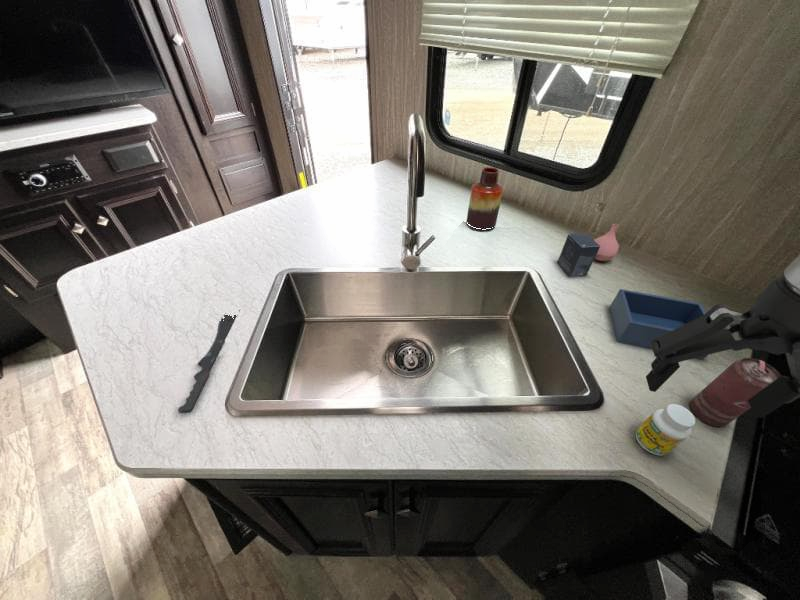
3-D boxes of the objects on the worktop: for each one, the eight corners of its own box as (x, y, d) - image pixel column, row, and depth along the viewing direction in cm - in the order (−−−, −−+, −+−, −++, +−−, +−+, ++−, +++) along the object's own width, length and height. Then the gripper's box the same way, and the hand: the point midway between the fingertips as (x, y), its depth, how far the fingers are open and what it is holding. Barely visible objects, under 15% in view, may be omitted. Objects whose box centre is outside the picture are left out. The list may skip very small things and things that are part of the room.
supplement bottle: (674, 448, 57) (709, 422, 51) (656, 461, 56) (689, 436, 49) (645, 422, 61) (674, 395, 55) (627, 434, 59) (655, 408, 53)
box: (586, 276, 96) (601, 246, 88) (568, 277, 95) (582, 247, 88) (573, 261, 101) (586, 231, 94) (556, 262, 101) (568, 232, 94)
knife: (229, 303, 86) (229, 302, 86) (245, 303, 87) (244, 301, 86) (170, 412, 62) (168, 411, 62) (191, 412, 63) (190, 410, 62)
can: (725, 407, 63) (781, 364, 54) (728, 433, 59) (789, 392, 50) (688, 392, 66) (735, 349, 56) (689, 416, 62) (740, 374, 52)
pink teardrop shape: (612, 255, 104) (630, 222, 96) (612, 267, 99) (630, 233, 91) (586, 249, 106) (601, 216, 98) (585, 261, 101) (600, 227, 93)
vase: (483, 235, 114) (494, 178, 100) (460, 224, 120) (467, 169, 106) (501, 225, 119) (513, 170, 106) (477, 215, 125) (487, 161, 112)
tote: (684, 322, 81) (701, 303, 77) (702, 360, 72) (722, 340, 68) (608, 307, 85) (620, 288, 81) (616, 341, 76) (630, 322, 72)
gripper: (950, 292, 34) (787, 398, 48) (681, 252, 40) (607, 356, 54) (1025, 344, 29) (818, 445, 43) (702, 289, 35) (614, 394, 49)
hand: (700, 396), depth 49 cm, fingers open, 13 cm apart
